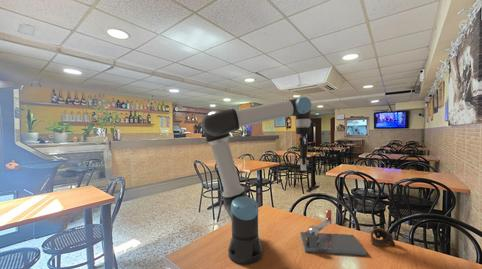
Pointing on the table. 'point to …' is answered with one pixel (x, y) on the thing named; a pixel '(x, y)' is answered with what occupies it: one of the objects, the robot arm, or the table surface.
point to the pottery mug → (384, 234)
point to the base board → (333, 244)
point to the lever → (319, 226)
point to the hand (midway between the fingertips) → (303, 170)
